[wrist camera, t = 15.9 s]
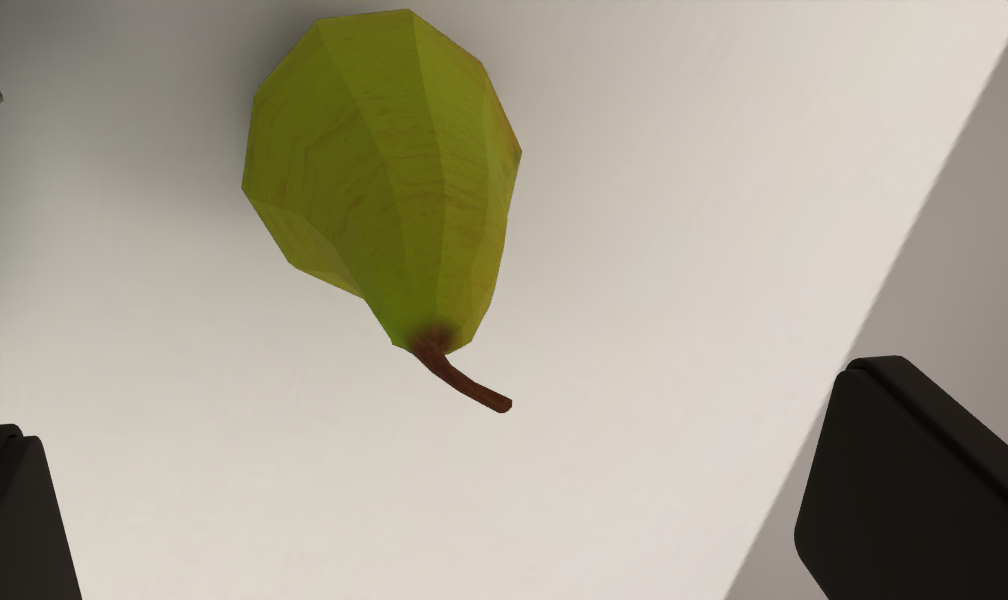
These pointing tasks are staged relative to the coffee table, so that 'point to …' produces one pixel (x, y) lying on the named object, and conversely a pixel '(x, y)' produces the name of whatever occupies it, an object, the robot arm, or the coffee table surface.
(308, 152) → the fruit
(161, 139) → the coffee table surface
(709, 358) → the coffee table surface
